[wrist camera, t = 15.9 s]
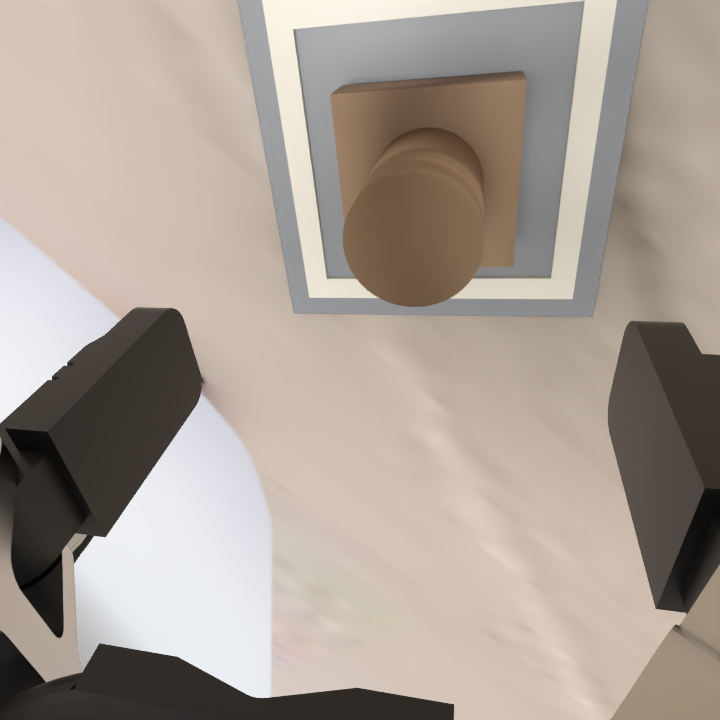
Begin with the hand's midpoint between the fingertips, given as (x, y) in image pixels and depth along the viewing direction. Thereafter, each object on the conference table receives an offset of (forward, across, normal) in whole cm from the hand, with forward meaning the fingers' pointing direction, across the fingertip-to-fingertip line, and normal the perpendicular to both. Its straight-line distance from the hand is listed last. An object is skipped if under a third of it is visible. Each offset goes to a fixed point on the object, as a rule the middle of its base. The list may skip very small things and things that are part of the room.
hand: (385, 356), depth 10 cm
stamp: (+14, 0, 0) cm, 14 cm away
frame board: (+15, 0, 0) cm, 15 cm away
